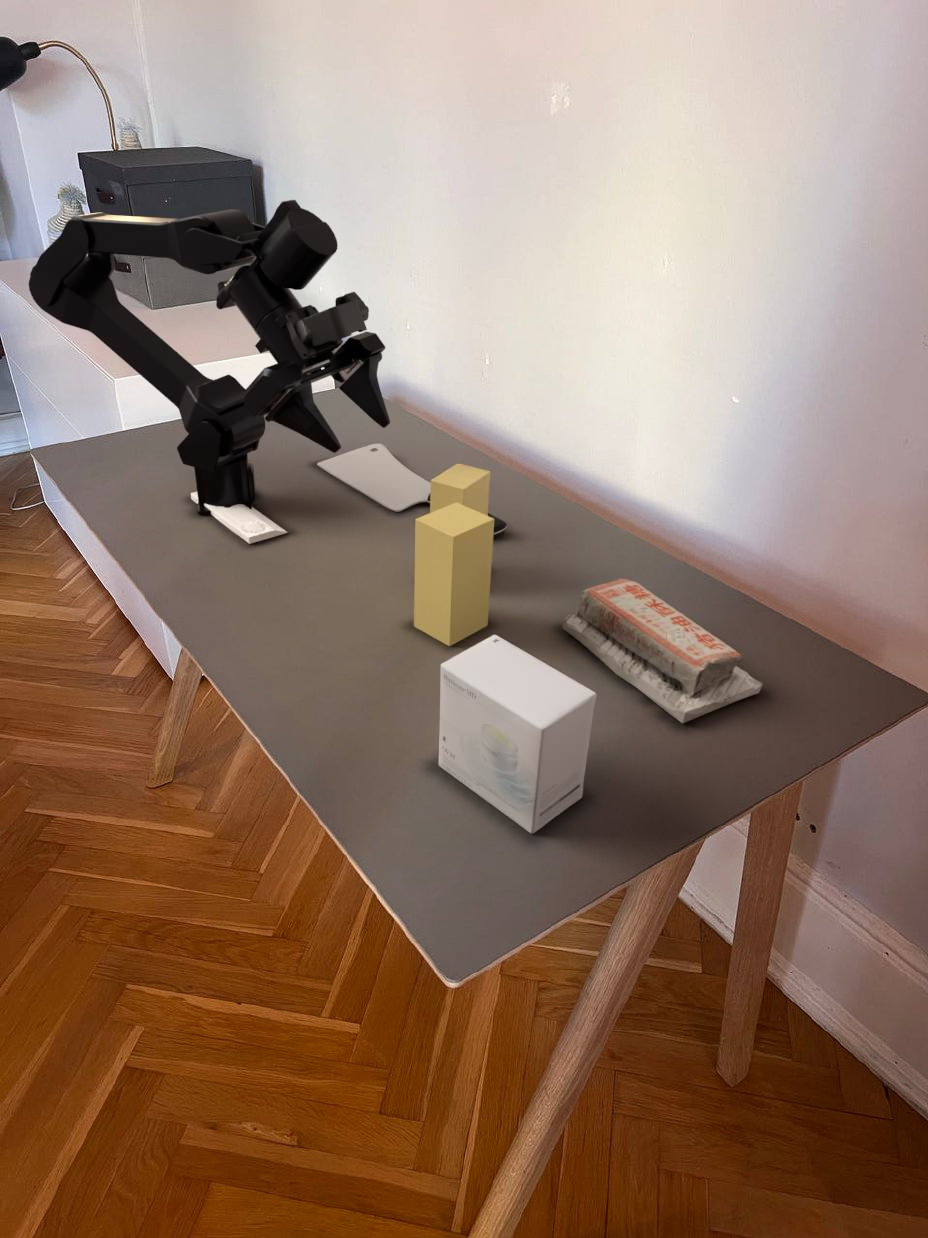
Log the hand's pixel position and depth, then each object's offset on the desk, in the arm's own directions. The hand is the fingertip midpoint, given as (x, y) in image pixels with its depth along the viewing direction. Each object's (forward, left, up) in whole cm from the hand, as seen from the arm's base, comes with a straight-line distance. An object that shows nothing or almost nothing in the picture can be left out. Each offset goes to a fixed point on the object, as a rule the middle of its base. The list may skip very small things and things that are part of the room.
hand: (363, 437), depth 99 cm
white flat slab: (-15, +9, -13) cm, 22 cm away
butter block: (+7, -18, -13) cm, 24 cm away
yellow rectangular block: (+9, -8, -13) cm, 18 cm away
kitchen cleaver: (+7, +13, -13) cm, 20 cm away
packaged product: (+26, -27, -13) cm, 40 cm away
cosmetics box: (+8, -42, -13) cm, 45 cm away
